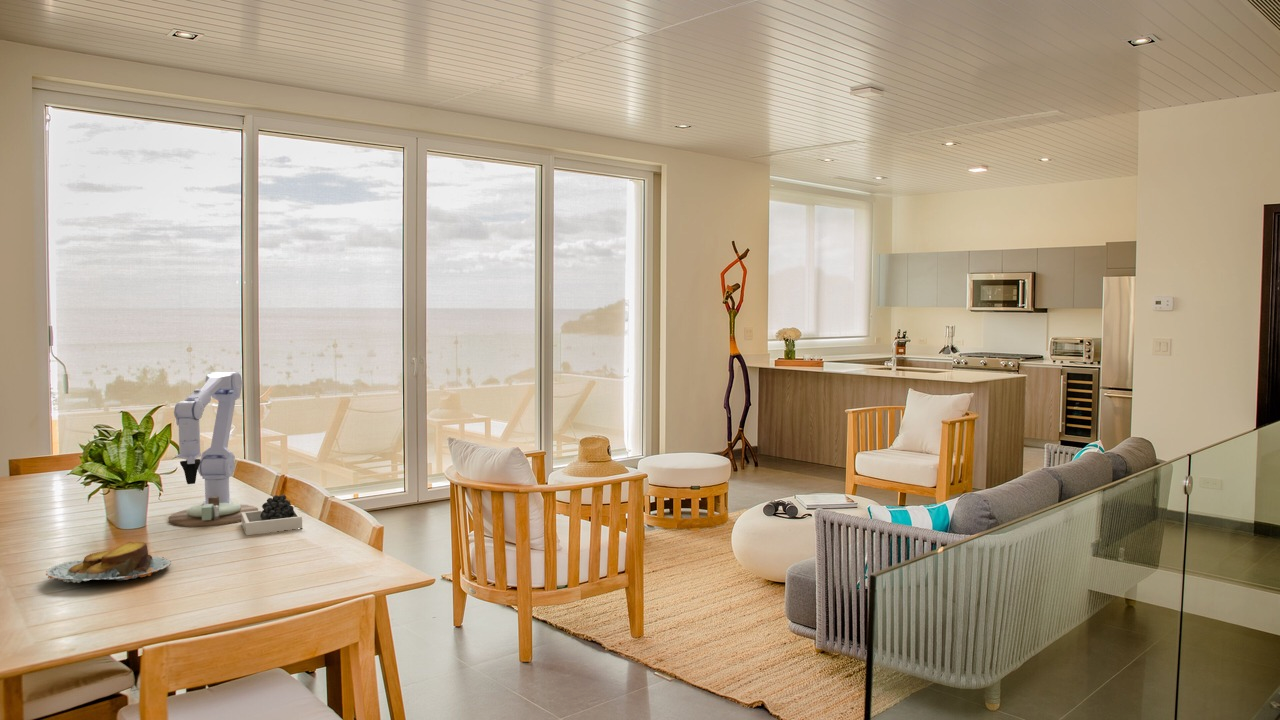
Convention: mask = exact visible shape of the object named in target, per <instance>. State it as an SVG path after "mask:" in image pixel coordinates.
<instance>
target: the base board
mask: <svg viewBox="0 0 1280 720" xmlns="http://www.w3.org/2000/svg"><path fill="white" fill-rule="evenodd" d="M208 503H209V504H214V506H216V505H219V497H217V496H215V497H209V498H208ZM240 505H241V510H240V511H238V512H235V513H232V514H227V515H221V516H219V518H220V520H217V521H213V518H212V519H211V520H202V517H193V516H189V515H187V510H188V509H189V508H188V509H184V510H183V509H182V510H181V511H178V512H174V513H172V514H171V515H169V516H168V523H169V524H171V525H173V526H177V527H188V528H194V527H195V528H196V527H197V528H198V527H200V528H201V527H213V526H215V527H216V526H223V525H229V524H230V525H231V524H234V523H239V522H240V523H241V512H251V511H259V508H258V507H257V506H253V505H249V504H240Z"/></svg>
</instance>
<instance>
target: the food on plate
mask: <svg viewBox="0 0 1280 720" xmlns="http://www.w3.org/2000/svg"><path fill="white" fill-rule="evenodd" d="M171 563H172V560H171V561H170V559H168V558H165V557H164V556H163V557H159V556H154V555H152V554H151V555H150V554H149V549H148V545H147V543H146V542H144V541H128V542H126V543H123V544H121V545H120V546H119V547H116V548H114V549H113V550H103V551H102V550H101V551H97V552H93V553H90V554H87V555H86V556H84V557H83V559H77V560H76V559H75V560H71V561H65V562H62V563H59V564H55V565H53V566H50V567H49V568H48V569H47V570H46V571H45V573H46V574H45V575H46V576H47V579H53V580H60V581H61V580H62V581H63V582H64V583H65V582H66V583H71V582H72V583H78V584H80V583H81V582H85V583H88V581H90V580H95V581H97V580H98V581H99V580H107V581H110V580H112V581H113V580H115V581H125V580H126V581H127V580H129V579H131V580H132V579H137V578H143V577H146V576H148V577H150V576H152V574H153V573H157V572H159V571H161V570H164V569H165V568H167V569H168V567H169V566H171V565H172V564H171ZM149 568H152V570H151V571H149ZM148 571H149V572H148Z"/></svg>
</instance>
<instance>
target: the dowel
mask: <svg viewBox="0 0 1280 720" xmlns="http://www.w3.org/2000/svg"><path fill="white" fill-rule="evenodd" d="M212 509H213V521H217V520H220V518H219V505H216V506H212Z"/></svg>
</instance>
